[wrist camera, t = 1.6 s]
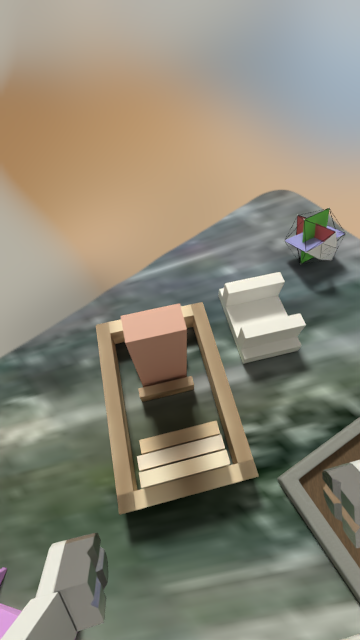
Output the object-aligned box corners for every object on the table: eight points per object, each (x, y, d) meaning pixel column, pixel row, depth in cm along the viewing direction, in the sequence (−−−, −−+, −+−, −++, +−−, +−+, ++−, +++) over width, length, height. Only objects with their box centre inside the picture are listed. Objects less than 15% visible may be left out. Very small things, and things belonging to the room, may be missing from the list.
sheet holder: (242, 363, 37) (249, 348, 33) (218, 295, 42) (221, 275, 38) (297, 350, 38) (310, 334, 34) (267, 284, 43) (276, 264, 39)
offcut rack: (125, 512, 30) (114, 516, 26) (101, 335, 39) (91, 316, 35) (252, 477, 31) (263, 475, 27) (201, 314, 41) (203, 293, 36)
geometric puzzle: (268, 227, 45) (305, 213, 37) (306, 210, 46) (349, 193, 39) (285, 273, 46) (323, 269, 39) (321, 255, 48) (365, 248, 40)
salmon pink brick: (144, 389, 36) (125, 342, 24) (140, 369, 37) (120, 315, 26) (186, 379, 36) (186, 329, 25) (181, 359, 38) (179, 303, 26)
